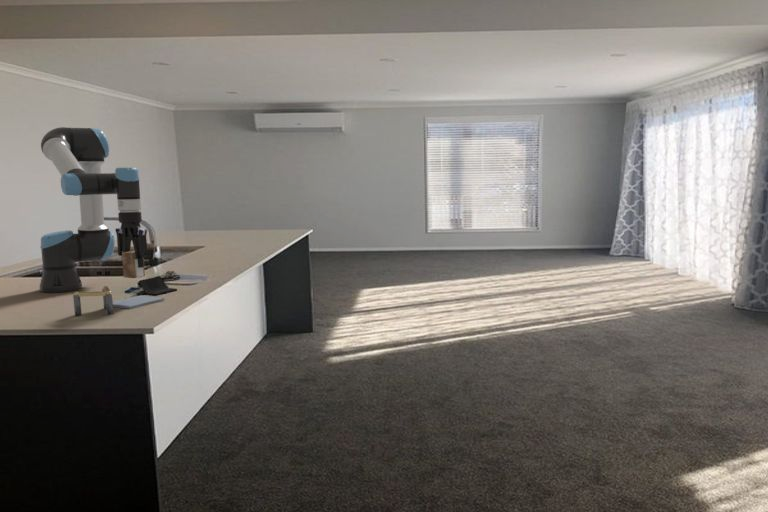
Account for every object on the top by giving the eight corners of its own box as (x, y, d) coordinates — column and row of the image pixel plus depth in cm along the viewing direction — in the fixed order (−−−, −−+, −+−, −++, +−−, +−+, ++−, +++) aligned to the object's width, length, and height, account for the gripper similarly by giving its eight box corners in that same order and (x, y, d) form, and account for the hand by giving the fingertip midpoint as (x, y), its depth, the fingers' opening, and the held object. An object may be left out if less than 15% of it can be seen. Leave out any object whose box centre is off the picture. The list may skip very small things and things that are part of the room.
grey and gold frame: (73, 315, 197) (71, 292, 196) (107, 307, 208) (105, 285, 207) (93, 318, 192) (91, 294, 191) (127, 310, 204) (125, 287, 202)
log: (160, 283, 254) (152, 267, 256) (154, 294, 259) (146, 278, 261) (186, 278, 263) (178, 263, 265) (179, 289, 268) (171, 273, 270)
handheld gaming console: (160, 292, 227) (148, 270, 228) (148, 302, 228) (135, 281, 230) (179, 290, 238) (167, 270, 239) (167, 300, 239) (155, 280, 241)
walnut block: (123, 277, 213) (121, 252, 211) (135, 275, 217) (133, 250, 216) (133, 278, 210) (131, 253, 209) (144, 276, 215) (143, 251, 214)
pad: (106, 305, 211) (106, 303, 211) (141, 297, 224) (141, 295, 224) (130, 308, 206) (129, 306, 206) (164, 300, 219) (163, 298, 219)
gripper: (103, 211, 211) (108, 275, 214) (138, 212, 203) (143, 279, 206) (121, 210, 218) (125, 272, 221) (156, 211, 210) (160, 276, 213)
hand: (134, 275), depth 214 cm, fingers closed on walnut block, 5 cm apart
